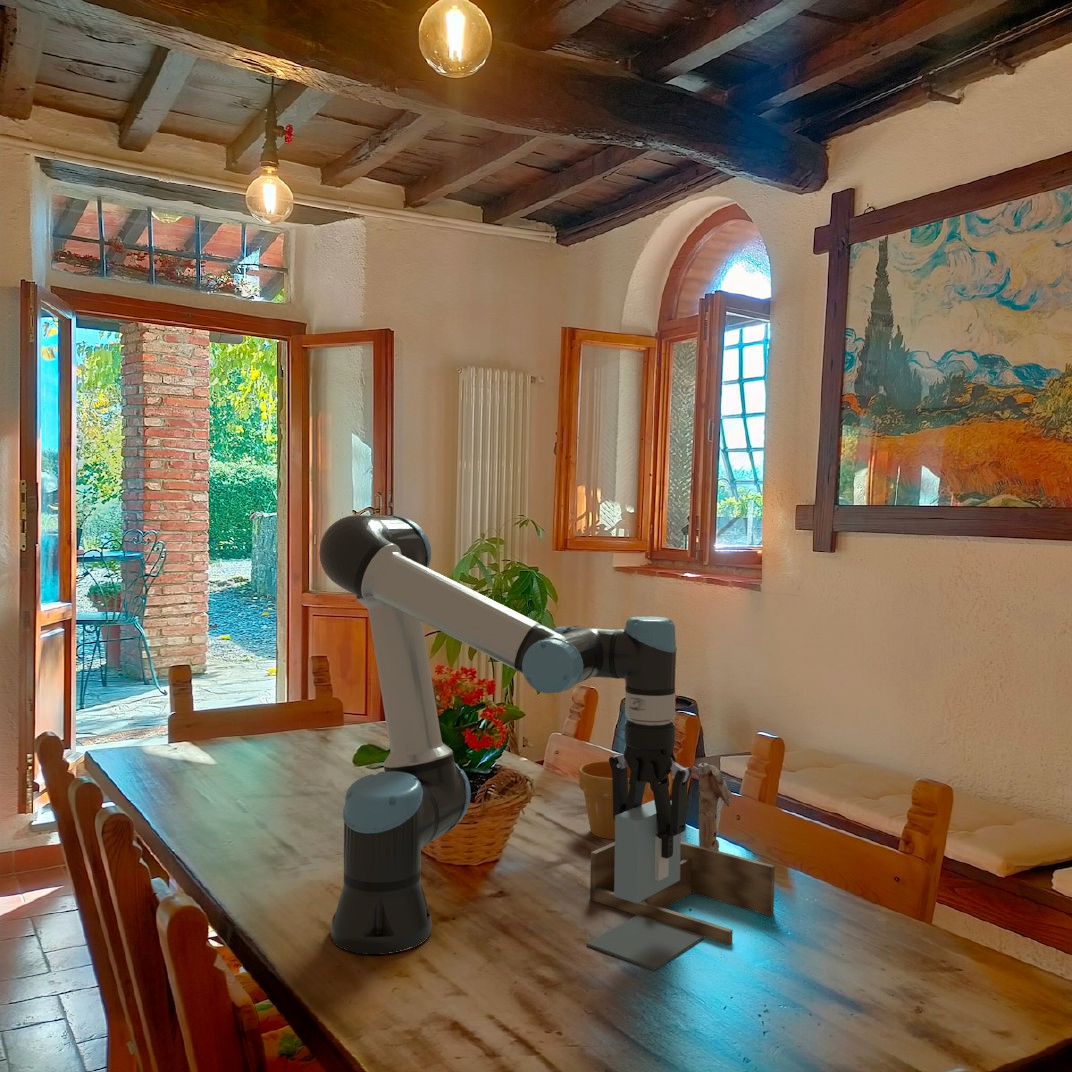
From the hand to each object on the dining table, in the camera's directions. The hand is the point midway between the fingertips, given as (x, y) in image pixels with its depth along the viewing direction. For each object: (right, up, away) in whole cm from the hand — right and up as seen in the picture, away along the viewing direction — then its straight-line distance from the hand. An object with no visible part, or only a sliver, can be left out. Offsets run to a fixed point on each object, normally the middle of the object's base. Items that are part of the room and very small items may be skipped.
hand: (648, 873), depth 146 cm
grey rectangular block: (0, -2, 0) cm, 2 cm away
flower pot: (-1, -10, +51) cm, 52 cm away
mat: (0, -10, 0) cm, 10 cm away
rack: (+7, -10, +14) cm, 18 cm away
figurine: (+16, -10, +30) cm, 36 cm away
